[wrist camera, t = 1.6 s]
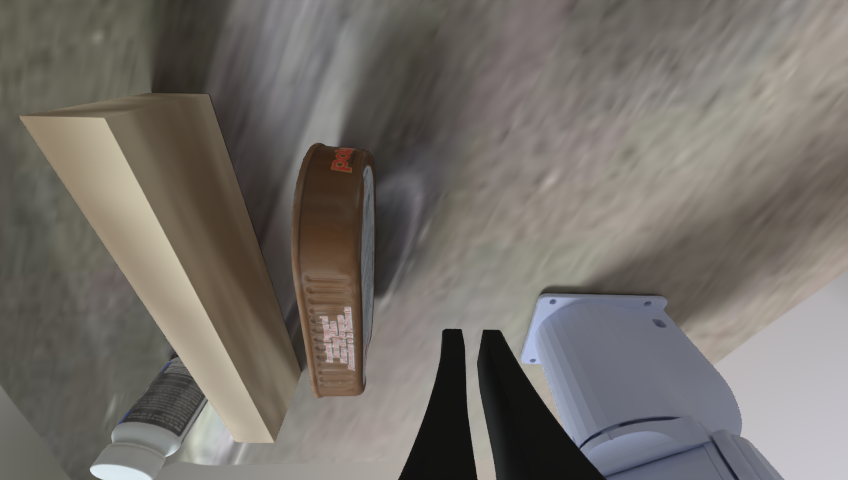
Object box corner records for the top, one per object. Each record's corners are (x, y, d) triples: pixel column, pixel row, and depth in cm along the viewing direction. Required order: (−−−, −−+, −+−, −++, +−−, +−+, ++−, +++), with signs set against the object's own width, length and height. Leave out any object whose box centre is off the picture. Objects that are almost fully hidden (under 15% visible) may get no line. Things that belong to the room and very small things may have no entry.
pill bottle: (161, 352, 27) (68, 459, 20) (215, 356, 28) (142, 464, 21) (178, 382, 30) (101, 487, 23) (227, 386, 30) (166, 491, 23)
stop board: (208, 94, 16) (103, 117, 11) (301, 372, 29) (274, 442, 24) (150, 92, 16) (18, 115, 11) (269, 372, 29) (236, 442, 24)
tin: (329, 124, 16) (254, 183, 9) (387, 130, 17) (357, 194, 10) (342, 316, 25) (307, 426, 18) (381, 319, 25) (362, 430, 18)
